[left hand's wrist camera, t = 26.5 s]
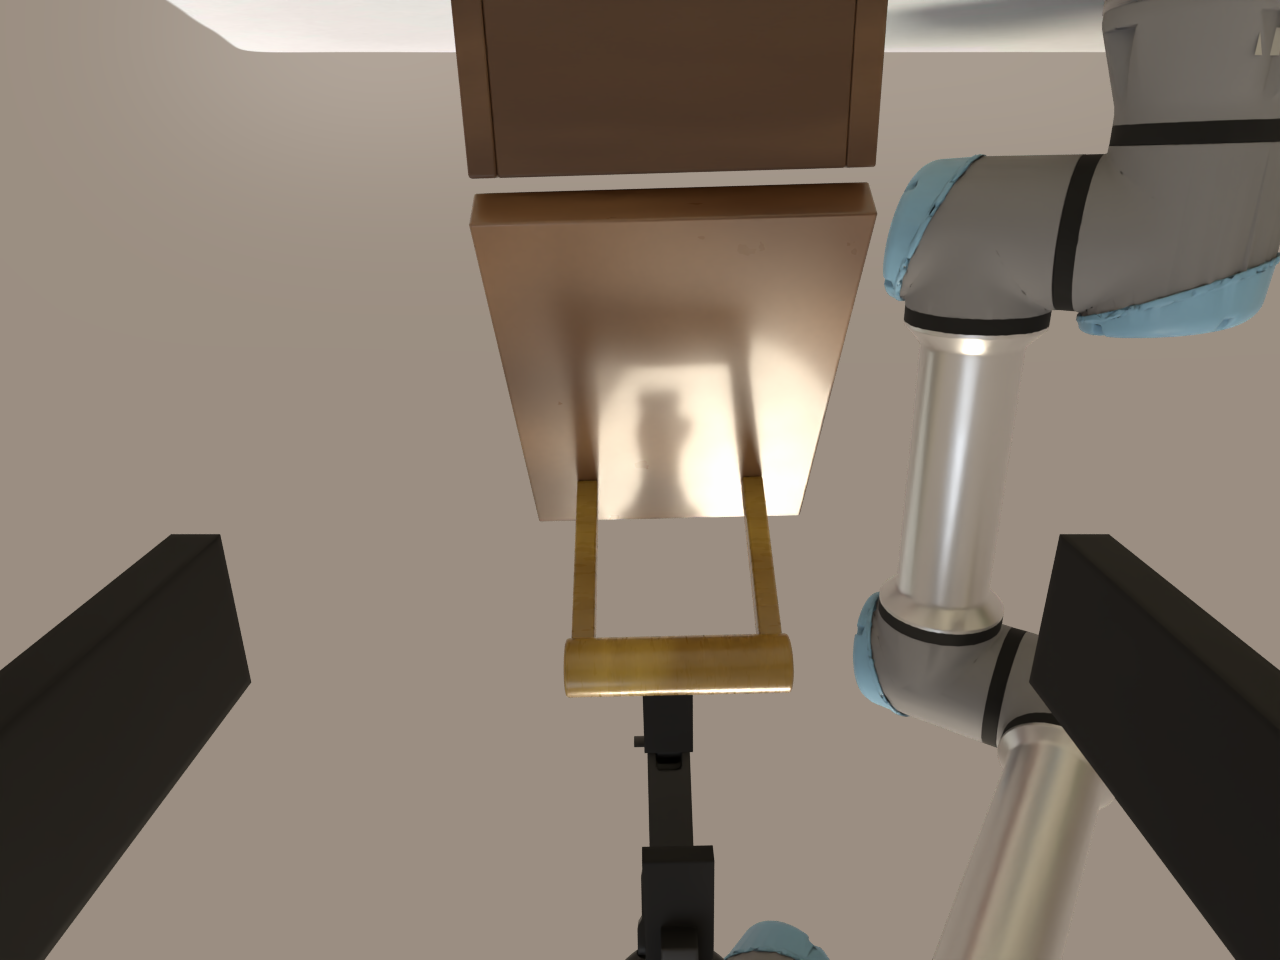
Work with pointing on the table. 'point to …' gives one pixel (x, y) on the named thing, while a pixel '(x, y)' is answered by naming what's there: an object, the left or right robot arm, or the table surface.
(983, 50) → the table surface
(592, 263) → the lid
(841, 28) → the chest
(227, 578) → the left robot arm
